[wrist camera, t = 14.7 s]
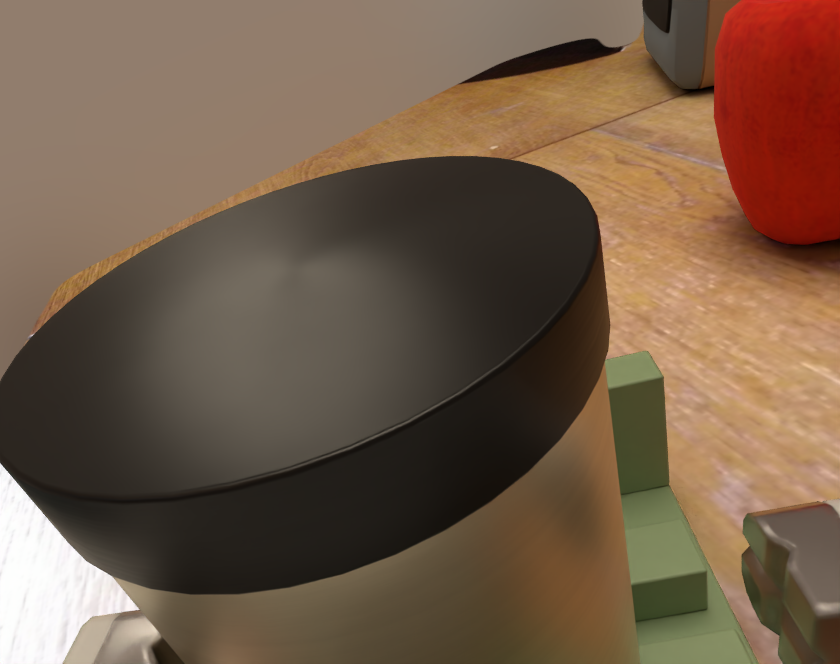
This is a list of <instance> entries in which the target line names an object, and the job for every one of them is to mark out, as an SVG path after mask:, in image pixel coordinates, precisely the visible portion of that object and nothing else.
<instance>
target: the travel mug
mask: <svg viewBox="0 0 840 664" xmlns="http://www.w3.org/2000/svg"><path fill="white" fill-rule="evenodd" d="M609 334H610V318H609V309H608V300H607V290H606V281H605V272H604V262H603V253H602V244H601V235H600V229H599V223H598V218H597V215H596V213H595V211H594V209H593V207H592V205H591V203H590V202H589V200H588V198H587V197H586V196H585V195H584V194H583V193H582V192H581V191H580V190H579V189H578V188H577V187H576V186H575V185H574V184H573V183H571V182H570V181H568V180H567V179H565V178H564V177H562V176H560V175H559V174H557V173H554V172H552V171H549V170H547V169H545V168H542V167H539V166H536V165H532V164H528V163H524V162H521V161H514V160H508V159H502V158H492V157H478V156H446V157H429V158H418V159H409V160H400V161H394V162H388V163H381V164H375V165H370V166H365V167H360V168H355V169H351V170H346V171H342V172H338V173H334V174H330V175H326V176H322V177H319V178H315V179H312V180H308V181H305V182H301V183H298V184H295V185H292V186H289V187H285V188H282V189H279V190H276V191H273V192H270V193H268V194H265V195H262V196H259V197H257V198H254V199H251V200H249V201H246V202H243V203H241V204H238V205H236V206H234V207H231V208H229V209H226V210H224V211H221V212H219V213H217V214H215V215H212V216H210V217H208V218H206V219H204V220H201V221H199V222H197V223H195V224H193V225H191V226H189V227H187V228H185V229H183V230H181V231H179V232H177V233H175V234H173V235H171V236H169V237H167V238H165V239H163V240H161V241H160V242H158V243H156V244H154V245H152V246H151V247H149V248H147V249H145V250H143V251H142V252H140V253H138V254H137V255H135V256H133V257H132V258H130V259H129V260H127V261H125V262H124V263H122V264H120V265H119V266H117V267H116V268H114V269H113V270H111V271H110V272H108V273H107V274H106V275H104V276H103V277H101V278H100V279H98V280H97V281H95V282H94V283H93V284H91V285H90V286H89V287H87V288H86V289H85V290H83V291H82V292H81V293H80V294H78V295H77V296H76V297H74V298H73V299H72V300H71V301H70V302H68V303H67V304H66V305H65V306H64V307H63V308H61V309H60V310H59V311H58V312H57V313H56V314H54V315H53V316H52V317H51V318H50V319H49V320H48V321H47V322H46V323H45V324H44V325H43V326H42V327H41V328H40V329H39V330H38V331H37V332H36V333H35V334H34V335H33V336H32V337H31V338H30V340H29V341H28V342H27V343H26V344H25V346H24V347H23V348H22V349H21V350H20V352H19V353H18V354H17V355H16V357H15V358H14V360H13V361H12V363H11V364H10V366H9V367H8V369H7V371H6V372H5V374H4V375H3V377H2V379H1V381H0V463H1V464H2V465H3V467H4V468H5V469H6V470H7V471H8V473H9V474H10V475H11V476H12V477H13V478H14V480H15V481H16V482H17V483H18V484H19V485H20V487H21V488H22V489H23V490H24V491H25V492H26V494H27V495H28V496H29V497H30V498H31V500H32V501H33V502H34V503H35V504H36V505H37V507H38V508H39V509H40V510H41V511H42V512H43V514H44V515H45V516H46V517H47V518H48V519H49V521H50V522H51V523H52V524H53V525H54V526H55V528H56V529H57V530H58V531H59V532H60V534H61V535H62V536H63V537H64V538H65V539H66V541H67V542H68V543H69V544H70V545H71V546H72V547H73V548H74V549H75V550H76V551H77V552H78V553H79V554H80V555H81V556H82V557H83V558H84V559H85V560H86V561H87V562H89V563H91V564H92V565H94V566H96V567H97V568H99V569H101V570H103V571H104V572H106V573H108V574H109V575H111V576H112V577H113V578H114V579H115V580H116V582H117V583H118V584H119V585H120V586H121V588H122V589H123V590H124V591H125V592H126V594H127V595H128V596H129V597H130V598H131V600H132V601H133V602H134V603H135V604H136V606H137V607H138V608H139V609H140V610H141V612H142V613H143V614H144V615H145V616H146V618H147V619H148V620H149V621H150V622H151V624H152V625H153V626H154V627H155V629H156V630H157V631H158V632H159V633H160V635H161V636H162V637H163V638H164V639H165V641H166V642H167V643H168V644H169V645H170V647H171V648H172V649H173V650H174V651H175V653H176V654H177V655H178V656H179V657H180V659H181V660H182V661H183V662H184V663H185V664H640V656H639V647H638V639H637V630H636V622H635V613H634V605H633V596H632V588H631V579H630V571H629V562H628V554H627V545H626V537H625V528H624V520H623V511H622V503H621V494H620V486H619V478H618V469H617V461H616V452H615V444H614V435H613V427H612V418H611V410H610V401H609V393H608V384H607V376H606V367H605V359H606V355H607V352H608V347H609Z"/></svg>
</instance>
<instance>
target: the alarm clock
mask: <svg viewBox="0 0 840 664" xmlns="http://www.w3.org/2000/svg"><path fill="white" fill-rule="evenodd" d="M740 1H741V0H643V16H644V41H645V45H646V49H647V51H648V52H649V53H650V54H651V56H652V57H653V58H654V60H655V61H656V62H657V63H658V65H659V66H660V67H661V68H662V70H663V71H664V72H665V73H666V75H667V76H668V77H669V78H670V80H671V81H672V82H674V83H675V84H676V85H677V86H679V87H680V88H682V89H700V88H705V87H709V86H714V75H715V46H716V43H717V40H718V36H719V33H720V30H721V27H722V23H723V20H724V17H725V14H726V13H727V12H728V11H729V10H730V9H731V8H733V7H734V6H735V5H736V4H737V3H738V2H740Z"/></svg>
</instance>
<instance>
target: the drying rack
mask: <svg viewBox="0 0 840 664" xmlns="http://www.w3.org/2000/svg"><path fill="white" fill-rule="evenodd" d="M605 367H606V376H607V384H608V393H609V401H610V410H611V418H612V427H613V435H614V444H615V452H616V461H617V469H618V478H619V486H620V494H621V503H622V511H623V520H624V528H625V537H626V545H627V554H628V562H629V571H630V579H631V588H632V596H633V605H634V613H635V622H636V630H637V639H638V647H639V656H640V664H759V663H758V661H757V659H756V657H755V655H754V653H753V651H752V649H751V647H750V645H749V643H748V641H747V639H746V637H745V635H744V633H743V631H742V629H741V627H740V625H739V623H738V621H737V619H736V617H735V615H734V613H733V611H732V609H731V607H730V605H729V603H728V601H727V599H726V597H725V595H724V593H723V591H722V589H721V587H720V585H719V583H718V581H717V579H716V577H715V575H714V573H713V571H712V569H711V567H710V565H709V563H708V561H707V559H706V557H705V555H704V553H703V551H702V549H701V547H700V545H699V543H698V541H697V539H696V537H695V535H694V533H693V531H692V529H691V527H690V525H689V523H688V521H687V519H686V517H685V515H684V513H683V511H682V509H681V507H680V505H679V503H678V501H677V499H676V497H675V495H674V493H673V491H672V489H671V487H670V485H669V465H668V447H667V429H666V412H665V394H664V376H663V375H662V373H661V372H660V370H659V368H658V367H657V365H656V363H655V362H654V360H653V358H652V357H651V355H650V354H649V352H648V351H642V352H638V353H633V354H629V355H624V356H620V357H616V358H611V359H607V360H605Z"/></svg>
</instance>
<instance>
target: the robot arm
mask: <svg viewBox="0 0 840 664" xmlns="http://www.w3.org/2000/svg"><path fill="white" fill-rule="evenodd" d="M743 534H744V536H745V538H746V539H747V541H748V543H749V545H750V546H749V547H748V548H747V549H746V551H745V552H744V553H743V554H742V574H743V579H744V583H745V587H746V591H747V594H748V596H749V599H750V601H751V604H752V606H753V608H754V610H755V612H756V614H757V616H758V618H759V620H760V622H761V624H763V625H764V626H766V627H767V628H769V629H770V630H772V631H773V632H775V633H776V634H778V635H779V649H778V655H779V657H780V659H781V661H782V663H783V664H840V499H834V500H828V501H823V502H819V501H817V502H811V503H806V504H800V505H794V506H788V507H782V508H777V509H771V510H765V511H759V512H753V513H748V514H747V515H746V516H745V518H744V520H743ZM63 664H185V663H184V662H183V661H182V660H181V659H180V657H179V656H178V655H177V654H176V653H175V651H174V650H173V649H172V648H171V647H170V645H169V644H168V643H167V642H166V641H165V639H164V638H163V637H162V636H161V635H160V633H159V632H158V631H157V630H156V629H155V627H154V626H153V625H152V624H151V622H150V621H149V620H148V619H147V618H146V616H145V615H144V614H143V613H142V612H141V610H136V611H128V612H122V613H115V614H108V615H101V616H94V617H92V618H90V619H89V620H88V621H87V622H86V623H85V624H84V625H83V626H82V627H81V629H80V631H79V633H78V635H77V637H76V639H75V641H74V642H73V644H72V646H71V648H70V650H69V652H68V654H67V656H66V658H65V660H64V662H63Z"/></svg>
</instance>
